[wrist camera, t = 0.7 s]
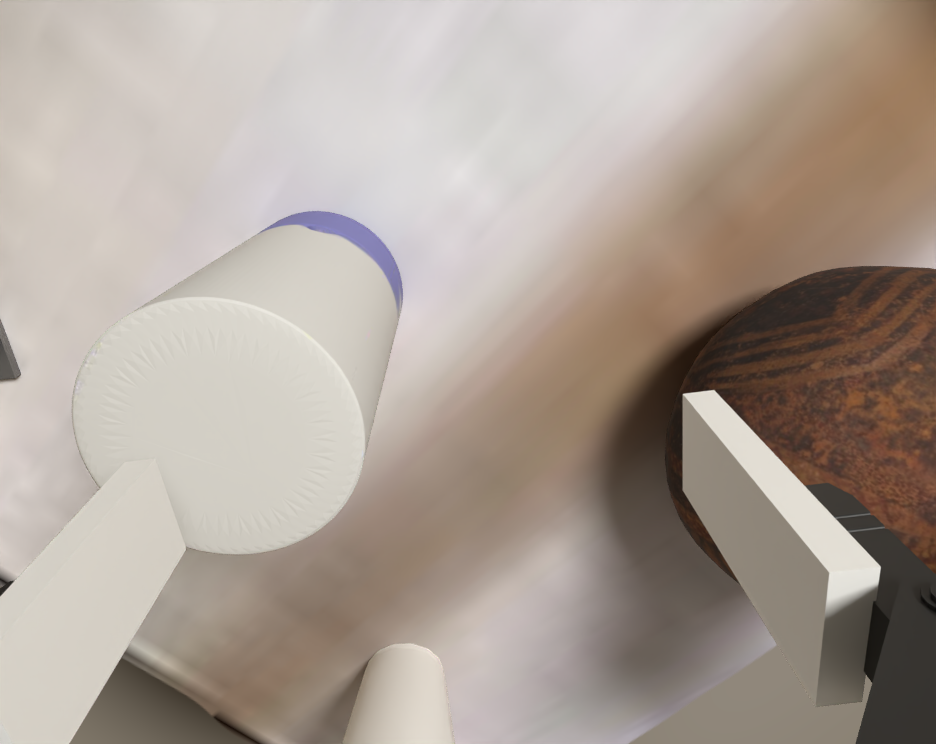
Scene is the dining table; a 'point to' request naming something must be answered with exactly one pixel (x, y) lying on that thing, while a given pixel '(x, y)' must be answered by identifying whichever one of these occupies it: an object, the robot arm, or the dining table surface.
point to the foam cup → (402, 700)
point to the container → (250, 383)
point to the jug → (833, 393)
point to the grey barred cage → (7, 358)
